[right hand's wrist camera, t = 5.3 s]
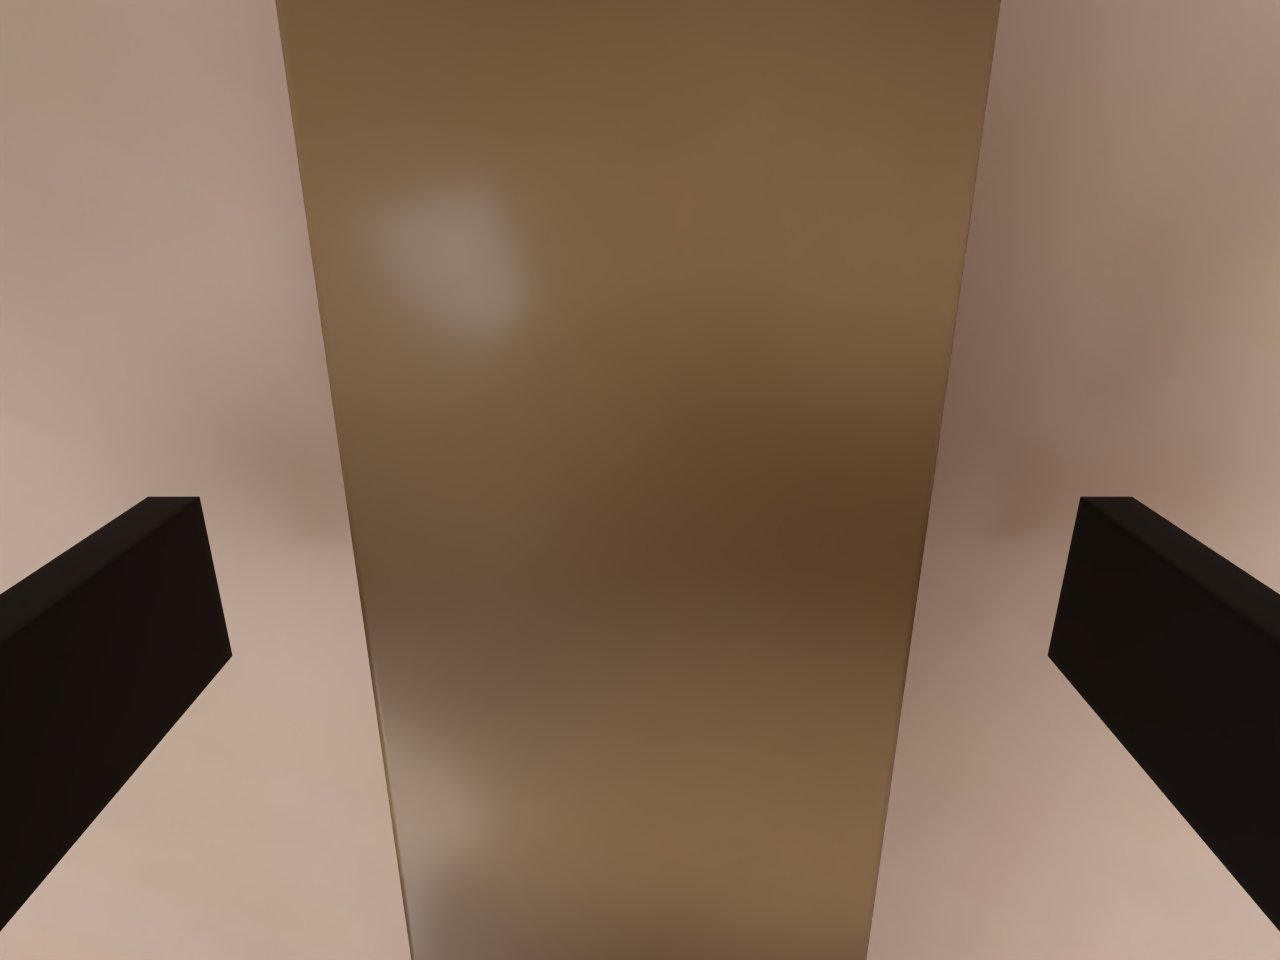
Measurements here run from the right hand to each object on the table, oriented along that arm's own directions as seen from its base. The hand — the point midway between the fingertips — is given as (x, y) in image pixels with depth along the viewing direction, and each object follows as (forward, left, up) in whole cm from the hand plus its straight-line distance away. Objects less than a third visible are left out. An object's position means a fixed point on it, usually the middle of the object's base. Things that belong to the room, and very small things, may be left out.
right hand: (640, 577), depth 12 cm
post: (+15, +11, -3) cm, 19 cm away
